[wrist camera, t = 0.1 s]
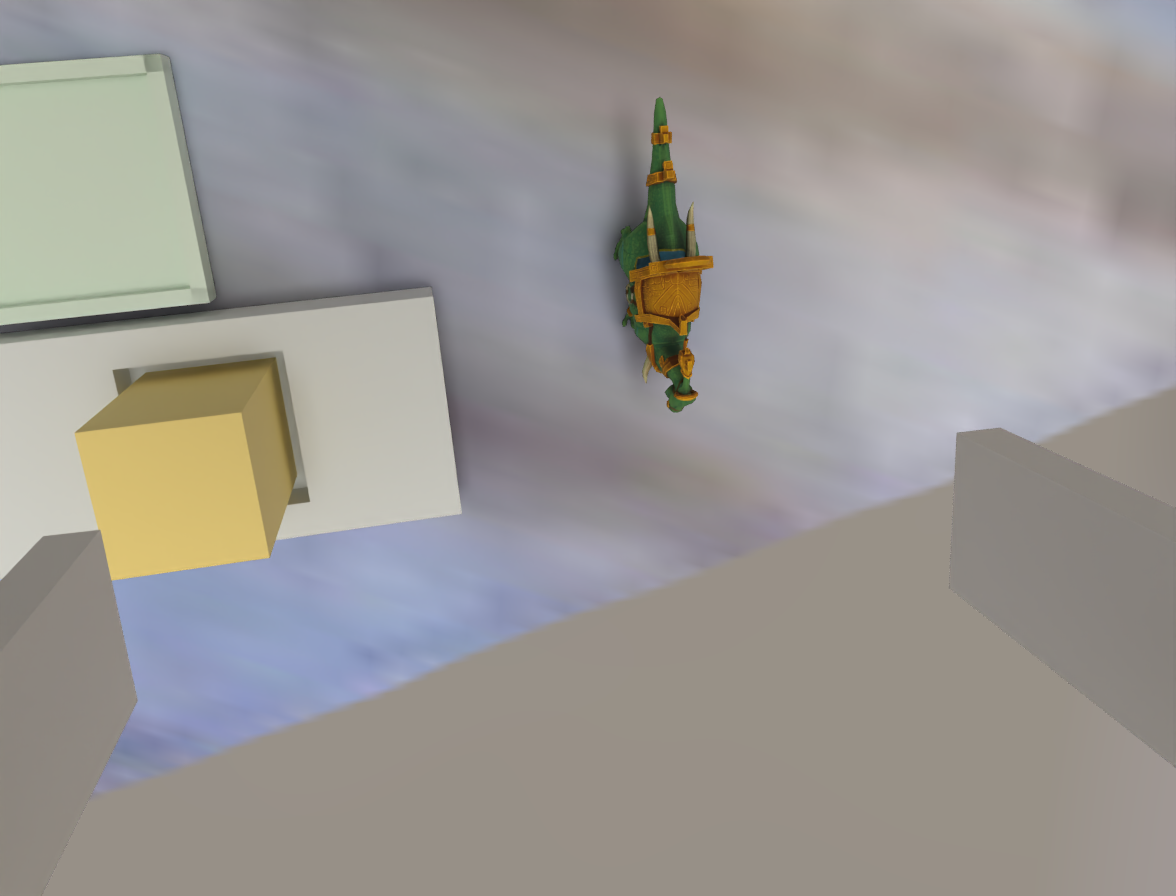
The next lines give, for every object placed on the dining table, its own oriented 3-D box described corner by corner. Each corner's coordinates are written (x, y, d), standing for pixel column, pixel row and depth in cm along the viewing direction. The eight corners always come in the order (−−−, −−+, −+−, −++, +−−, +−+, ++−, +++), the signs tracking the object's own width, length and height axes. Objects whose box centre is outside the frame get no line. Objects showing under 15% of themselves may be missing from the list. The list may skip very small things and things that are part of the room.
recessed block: (-34, 337, 39) (-69, 351, 36) (430, 286, 41) (433, 296, 38) (25, 550, 41) (-4, 579, 38) (457, 490, 44) (461, 513, 41)
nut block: (145, 372, 39) (74, 433, 31) (276, 357, 40) (241, 412, 31) (172, 491, 41) (111, 580, 32) (297, 474, 41) (269, 557, 33)
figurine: (617, 392, 44) (662, 443, 36) (593, 106, 40) (638, 95, 33) (684, 383, 44) (743, 432, 37) (667, 100, 41) (728, 87, 33)
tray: (-91, 76, 36) (-111, 73, 34) (169, 57, 37) (160, 53, 36) (-24, 322, 38) (-41, 329, 37) (216, 297, 40) (209, 302, 38)
